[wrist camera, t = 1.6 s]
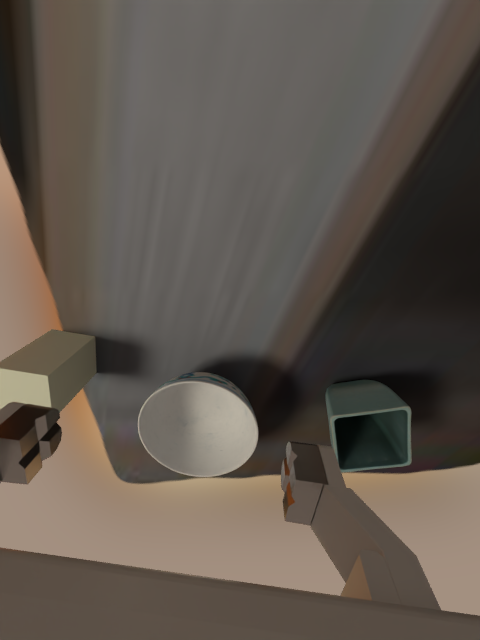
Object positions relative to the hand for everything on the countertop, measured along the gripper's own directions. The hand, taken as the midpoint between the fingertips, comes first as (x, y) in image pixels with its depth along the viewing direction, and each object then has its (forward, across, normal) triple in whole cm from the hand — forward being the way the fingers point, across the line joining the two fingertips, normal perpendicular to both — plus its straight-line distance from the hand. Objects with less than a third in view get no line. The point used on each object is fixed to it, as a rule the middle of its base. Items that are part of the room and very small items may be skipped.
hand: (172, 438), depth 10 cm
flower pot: (+28, -19, +15) cm, 37 cm away
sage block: (+28, +21, +14) cm, 38 cm away
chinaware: (+28, +2, +19) cm, 34 cm away
